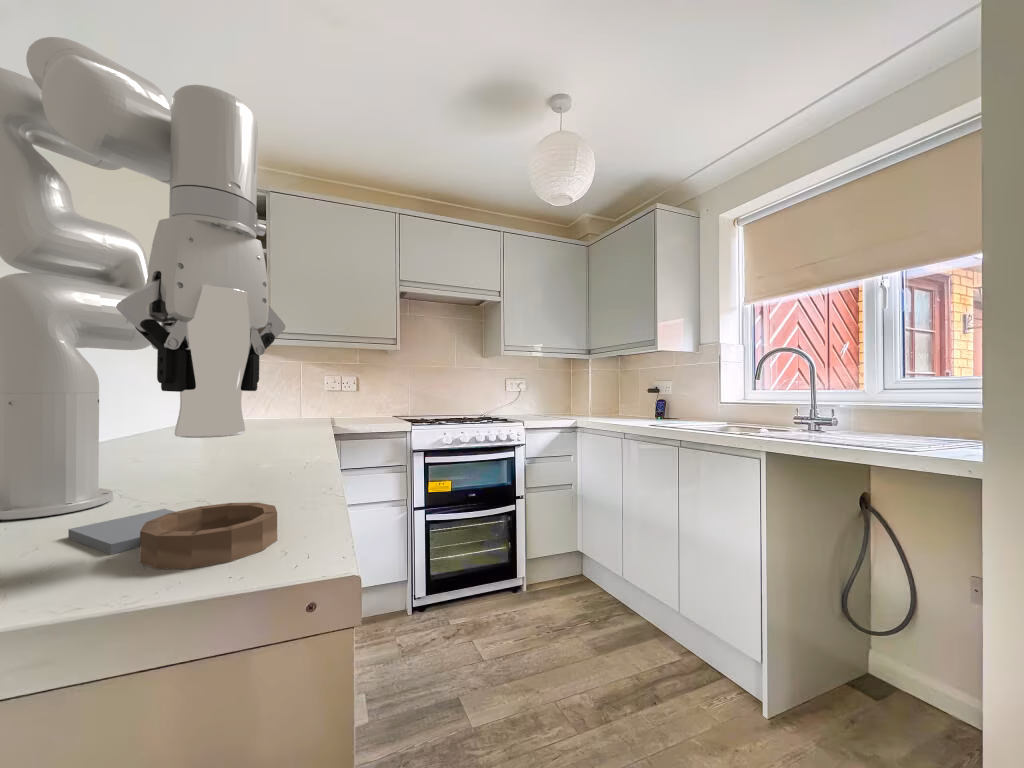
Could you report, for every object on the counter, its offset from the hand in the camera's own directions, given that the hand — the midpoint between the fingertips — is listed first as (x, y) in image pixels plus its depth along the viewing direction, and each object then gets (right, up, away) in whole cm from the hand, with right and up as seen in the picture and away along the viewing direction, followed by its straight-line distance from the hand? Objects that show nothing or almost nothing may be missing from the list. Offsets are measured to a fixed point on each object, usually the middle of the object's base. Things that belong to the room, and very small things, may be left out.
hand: (211, 389), depth 46 cm
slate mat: (-11, -16, +4) cm, 20 cm away
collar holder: (0, -16, 0) cm, 16 cm away
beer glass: (0, -5, 0) cm, 5 cm away
